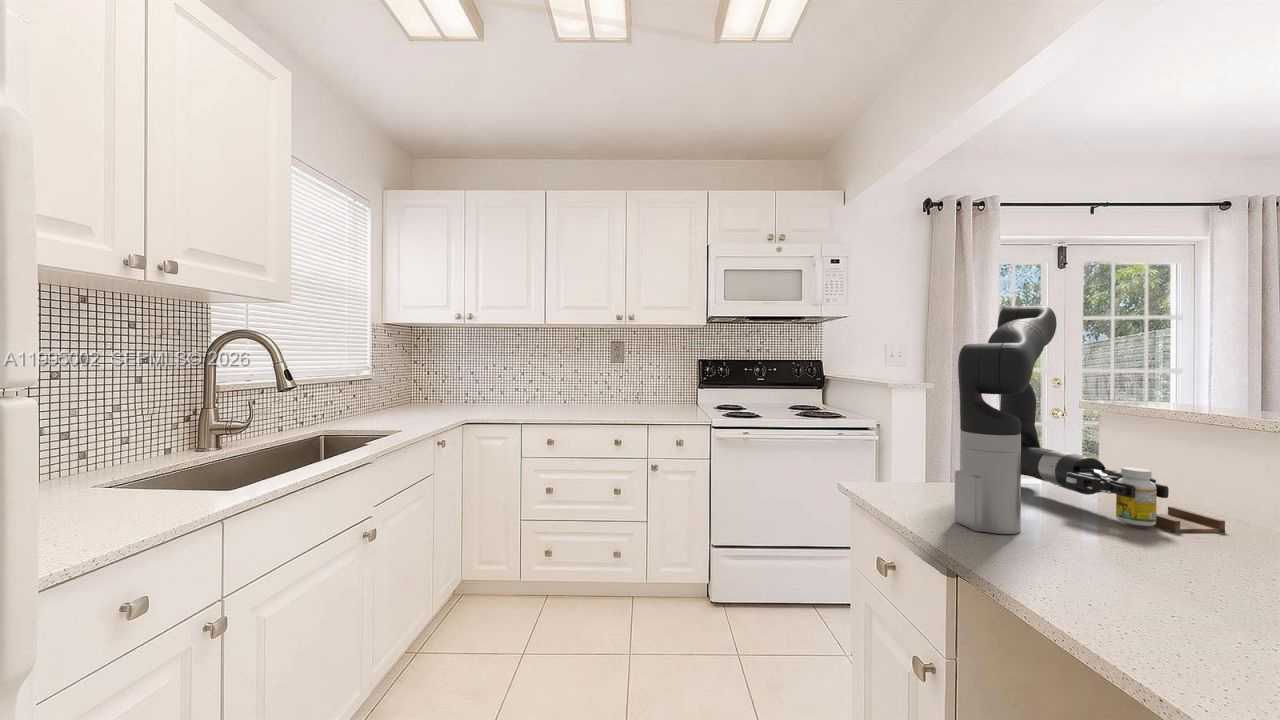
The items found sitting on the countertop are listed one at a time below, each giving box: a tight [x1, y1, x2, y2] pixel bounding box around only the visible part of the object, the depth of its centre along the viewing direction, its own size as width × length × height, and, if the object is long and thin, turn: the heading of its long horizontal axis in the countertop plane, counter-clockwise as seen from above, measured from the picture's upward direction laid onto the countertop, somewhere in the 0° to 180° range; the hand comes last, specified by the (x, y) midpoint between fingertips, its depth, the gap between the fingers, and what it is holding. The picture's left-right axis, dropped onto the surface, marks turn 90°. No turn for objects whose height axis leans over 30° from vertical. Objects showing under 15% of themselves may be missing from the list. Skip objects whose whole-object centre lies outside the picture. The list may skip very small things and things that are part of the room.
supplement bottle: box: [1115, 466, 1158, 527], centre depth 97 cm, size 5×5×10 cm
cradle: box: [1152, 506, 1226, 533], centre depth 98 cm, size 9×9×2 cm
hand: (1149, 492), depth 94 cm, fingers closed on supplement bottle, 5 cm apart
